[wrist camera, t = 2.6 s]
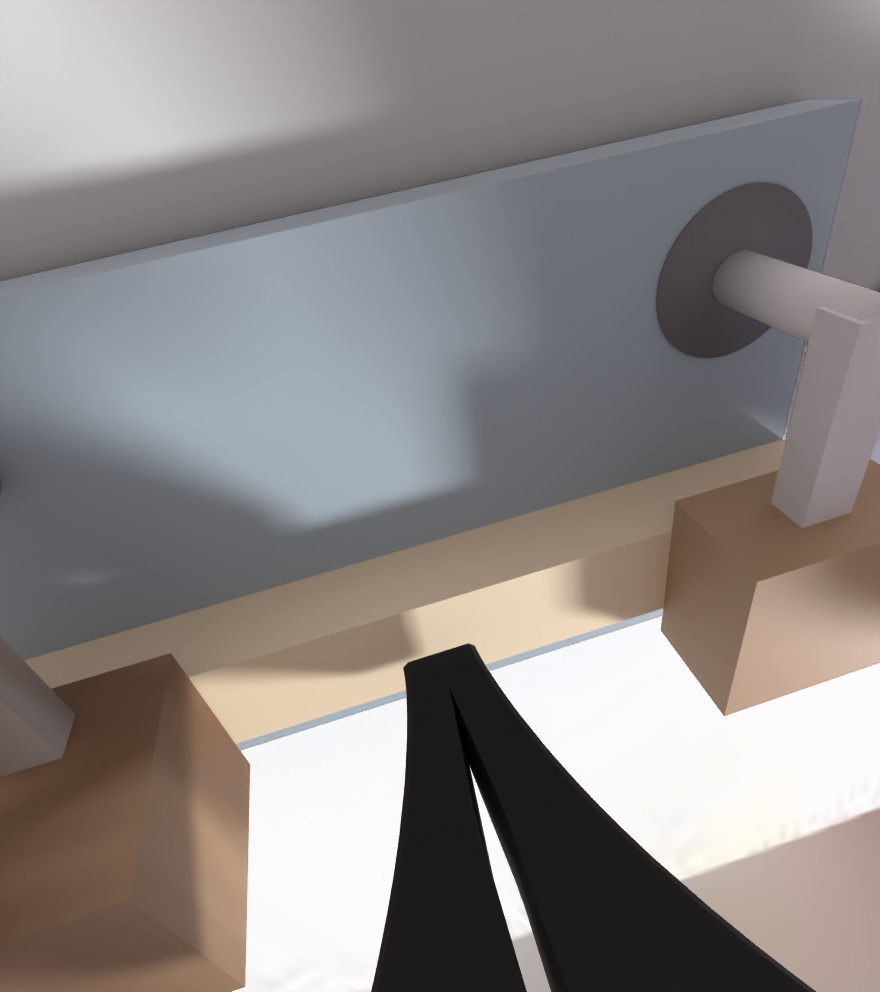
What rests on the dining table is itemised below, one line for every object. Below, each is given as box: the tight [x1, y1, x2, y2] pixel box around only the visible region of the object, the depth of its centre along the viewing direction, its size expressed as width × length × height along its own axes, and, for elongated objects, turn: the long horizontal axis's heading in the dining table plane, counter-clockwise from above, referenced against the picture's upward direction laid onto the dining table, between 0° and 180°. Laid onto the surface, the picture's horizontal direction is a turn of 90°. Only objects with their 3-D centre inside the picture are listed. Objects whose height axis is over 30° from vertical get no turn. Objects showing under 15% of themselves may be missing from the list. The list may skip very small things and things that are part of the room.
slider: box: [0, 480, 250, 992], centre depth 9 cm, size 4×8×6 cm, turn 8°
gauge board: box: [0, 99, 880, 750], centre depth 11 cm, size 24×12×5 cm, turn 98°
